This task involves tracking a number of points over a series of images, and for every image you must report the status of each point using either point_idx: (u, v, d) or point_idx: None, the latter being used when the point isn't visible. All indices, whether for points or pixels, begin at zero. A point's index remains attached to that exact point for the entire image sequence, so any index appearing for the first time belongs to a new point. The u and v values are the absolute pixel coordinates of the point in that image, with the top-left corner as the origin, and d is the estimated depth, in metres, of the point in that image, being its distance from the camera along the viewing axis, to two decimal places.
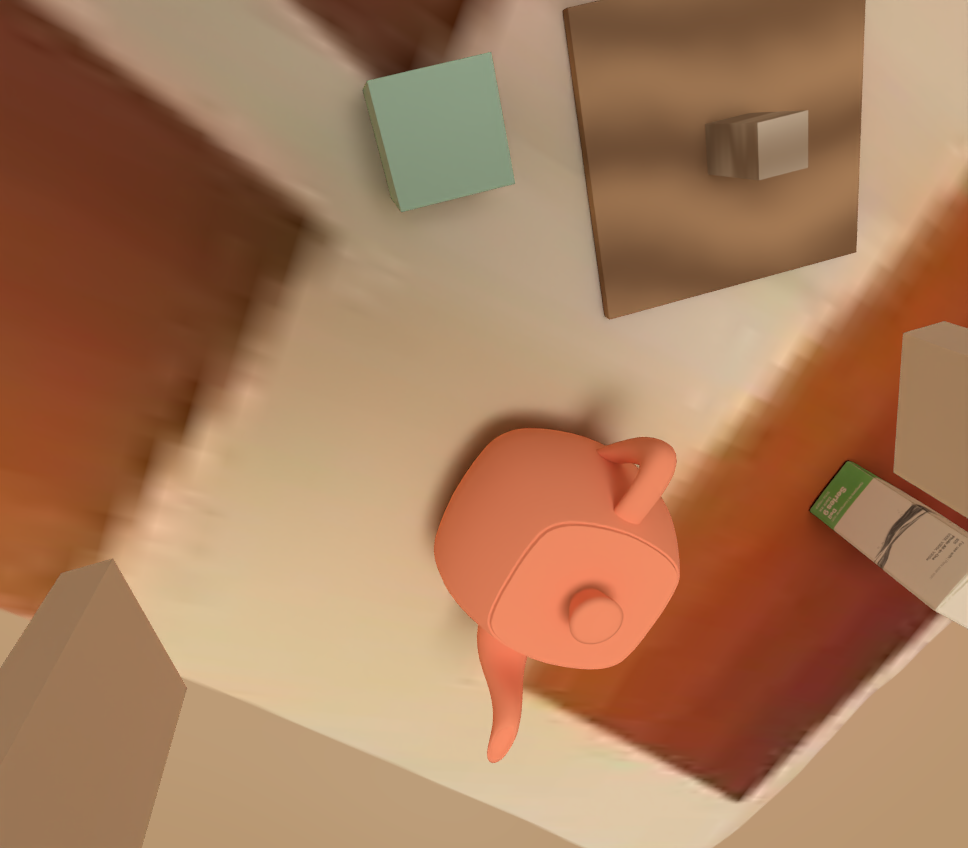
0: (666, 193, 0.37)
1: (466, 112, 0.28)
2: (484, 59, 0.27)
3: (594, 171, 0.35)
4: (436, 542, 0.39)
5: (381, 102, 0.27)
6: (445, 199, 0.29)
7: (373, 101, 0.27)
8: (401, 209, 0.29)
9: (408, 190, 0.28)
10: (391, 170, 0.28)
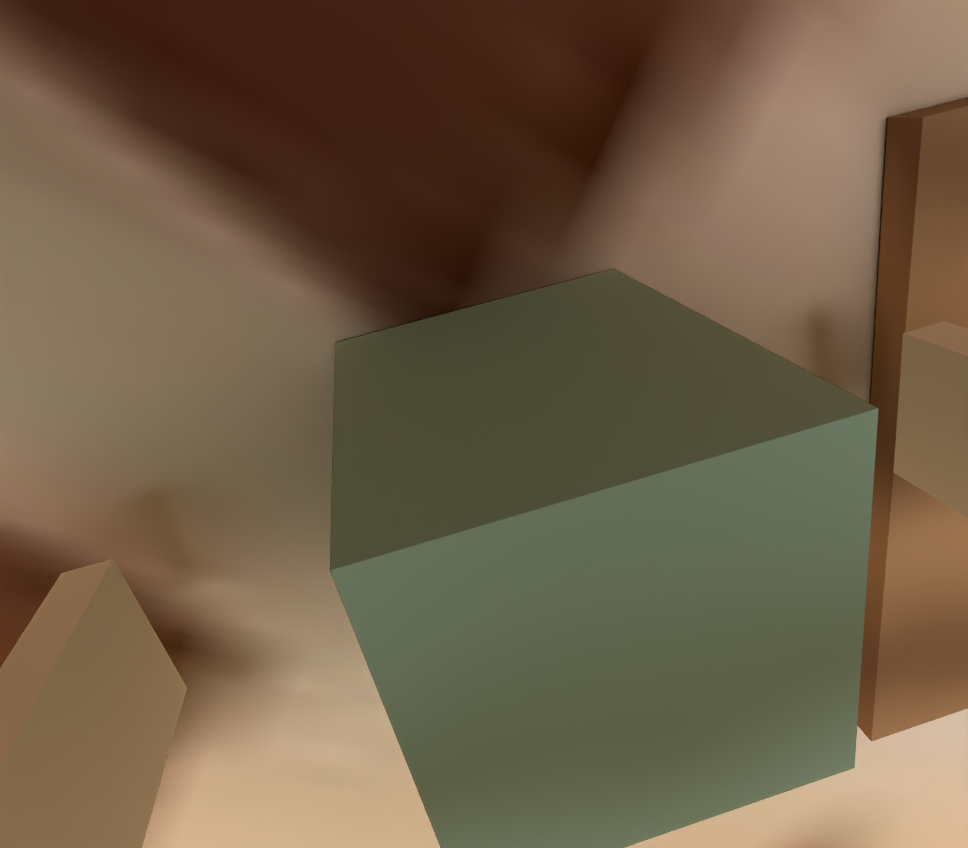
0: None
1: (736, 614, 0.07)
2: (845, 438, 0.06)
3: (902, 489, 0.15)
4: None
5: (396, 631, 0.06)
6: (620, 845, 0.08)
7: (360, 631, 0.06)
8: None
9: None
10: (431, 814, 0.07)
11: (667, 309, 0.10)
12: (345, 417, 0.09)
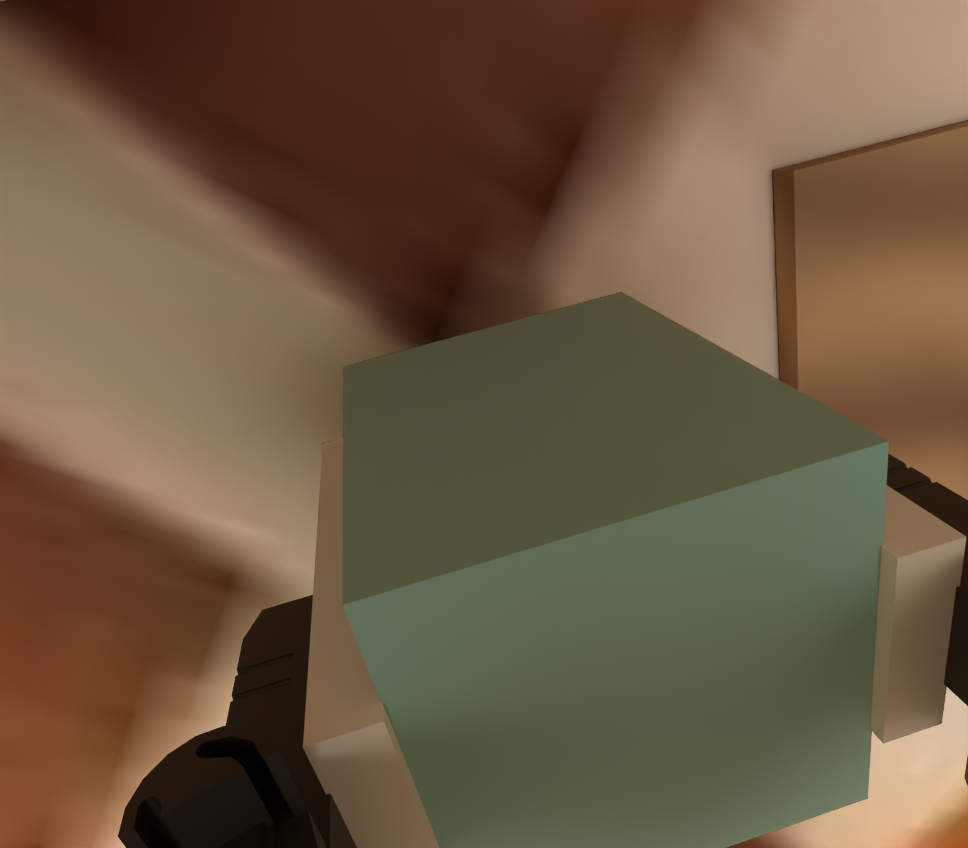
0: None
1: (748, 644, 0.07)
2: (856, 470, 0.06)
3: None
4: None
5: (408, 666, 0.06)
6: None
7: (371, 664, 0.06)
8: None
9: None
10: (442, 846, 0.07)
11: (674, 335, 0.10)
12: (354, 444, 0.09)
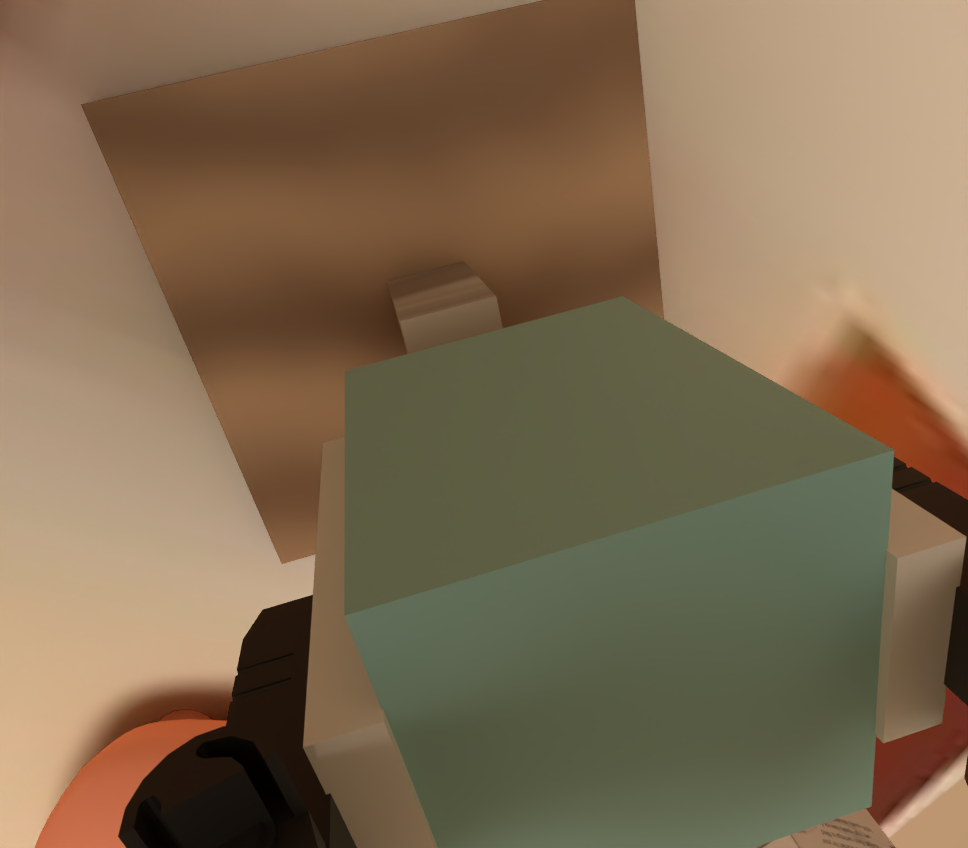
0: (340, 385, 0.23)
1: (752, 654, 0.07)
2: (861, 479, 0.06)
3: (202, 360, 0.21)
4: None
5: (409, 676, 0.06)
6: None
7: (374, 674, 0.06)
8: None
9: None
10: None
11: (677, 340, 0.10)
12: (356, 451, 0.09)
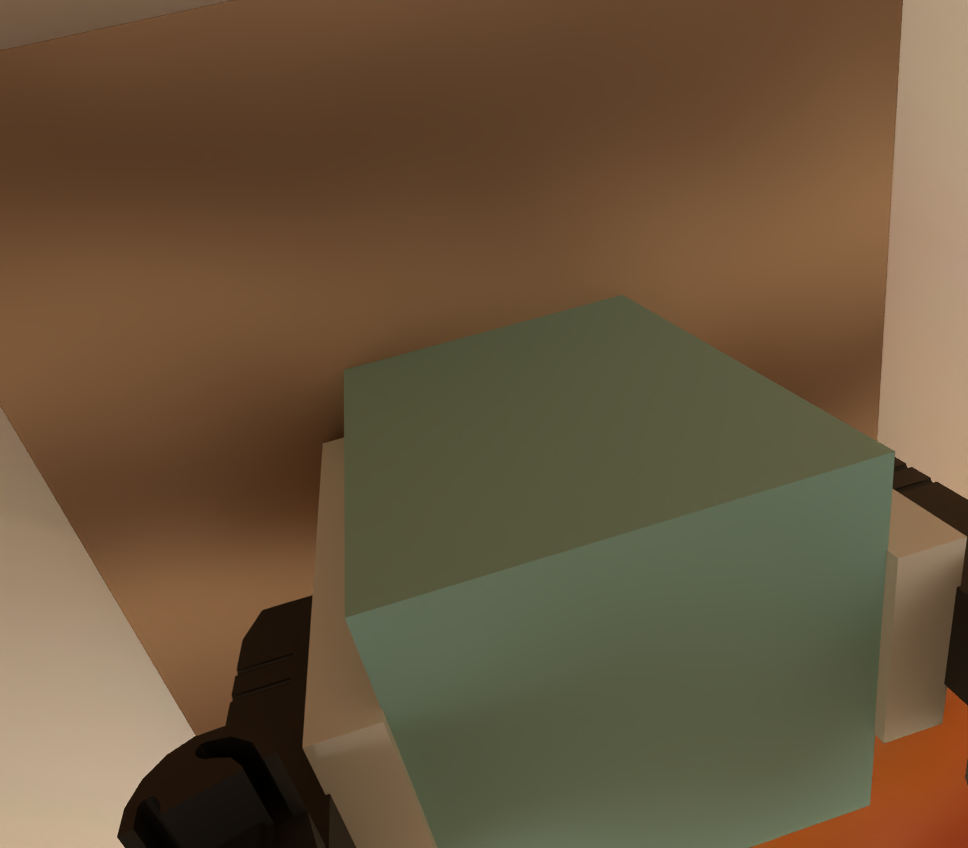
0: None
1: (751, 654, 0.07)
2: (861, 480, 0.06)
3: (102, 548, 0.12)
4: None
5: (409, 677, 0.06)
6: None
7: (374, 676, 0.06)
8: None
9: None
10: None
11: (677, 339, 0.10)
12: (356, 451, 0.09)
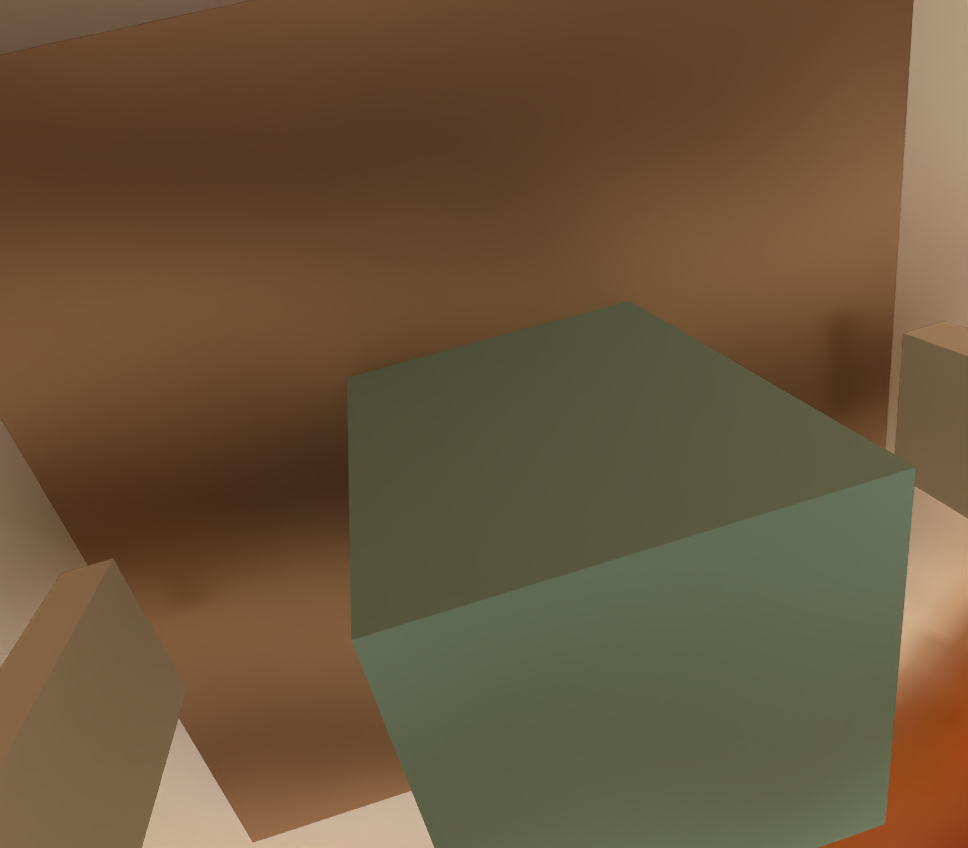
0: (348, 583, 0.13)
1: (767, 674, 0.07)
2: (881, 497, 0.06)
3: (101, 558, 0.12)
4: None
5: (417, 700, 0.06)
6: None
7: (381, 699, 0.06)
8: None
9: None
10: None
11: (687, 348, 0.09)
12: (360, 463, 0.08)
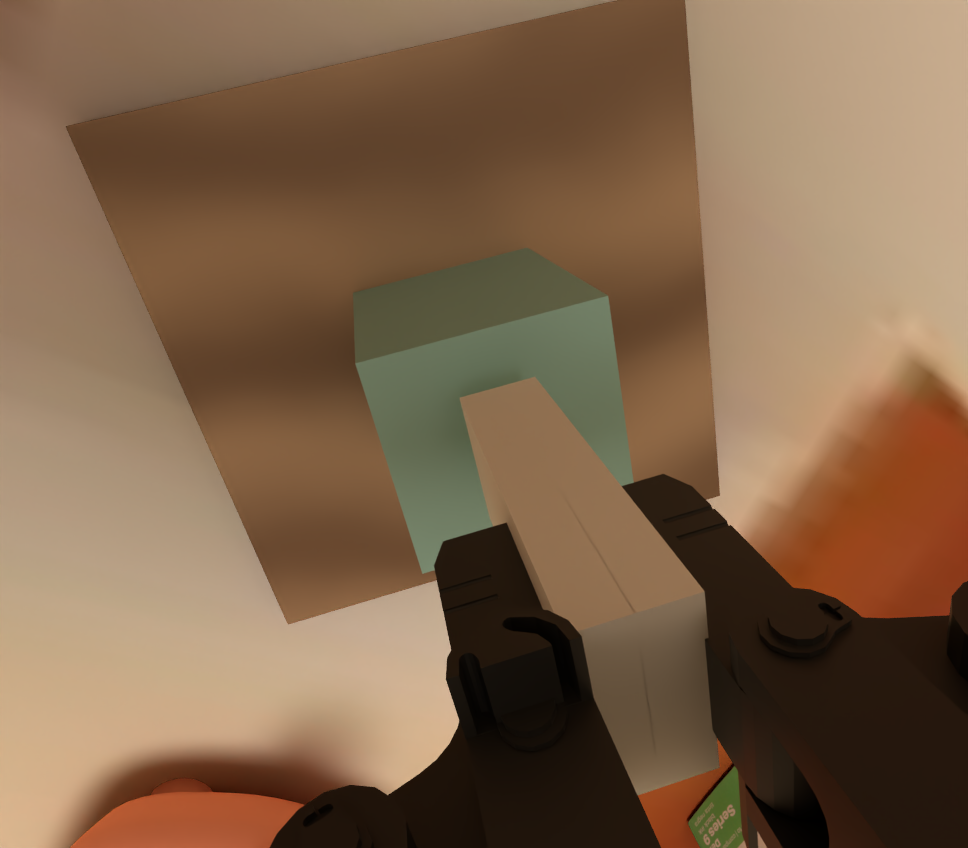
0: (353, 432, 0.20)
1: None
2: (594, 309, 0.13)
3: (201, 406, 0.19)
4: None
5: (385, 399, 0.13)
6: None
7: (368, 397, 0.13)
8: (423, 568, 0.15)
9: (436, 538, 0.15)
10: (404, 510, 0.14)
11: (544, 265, 0.17)
12: (360, 321, 0.16)
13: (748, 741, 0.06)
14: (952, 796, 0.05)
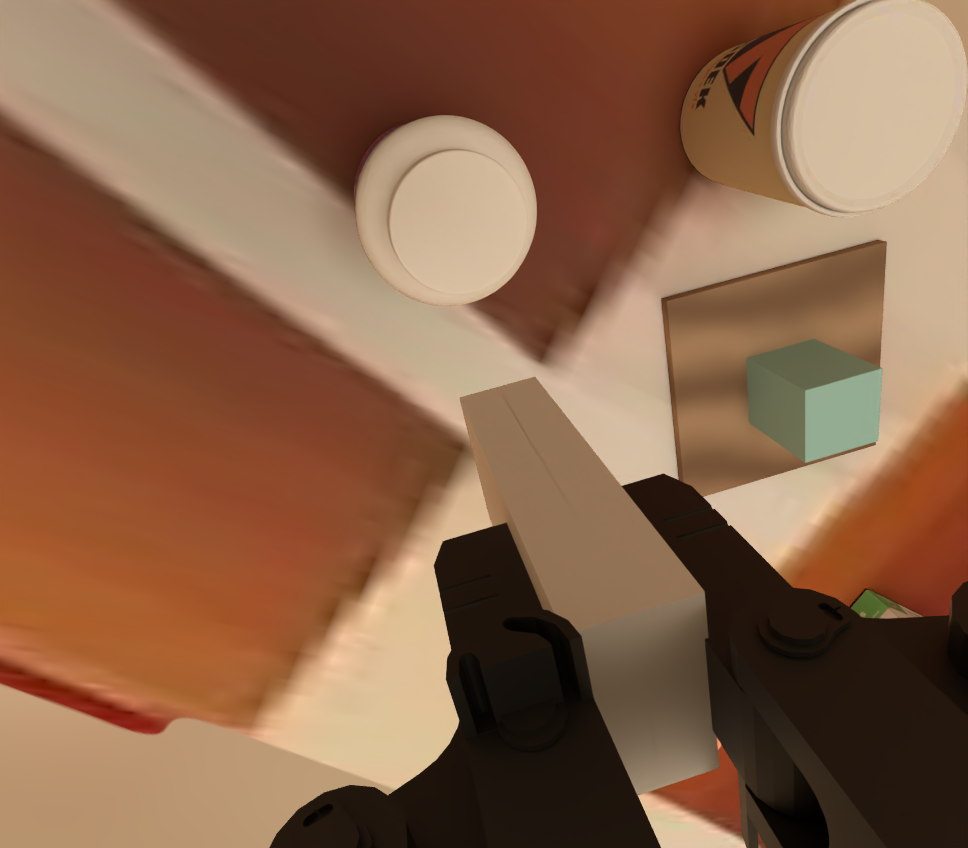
0: (732, 414, 0.48)
1: (859, 403, 0.42)
2: (877, 372, 0.41)
3: (679, 403, 0.47)
4: None
5: (810, 401, 0.41)
6: (834, 453, 0.43)
7: (805, 401, 0.41)
8: (805, 461, 0.43)
9: (812, 450, 0.42)
10: (805, 439, 0.42)
11: (836, 350, 0.44)
12: (776, 373, 0.43)
13: (748, 741, 0.06)
14: (952, 796, 0.05)
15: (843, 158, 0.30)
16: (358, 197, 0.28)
